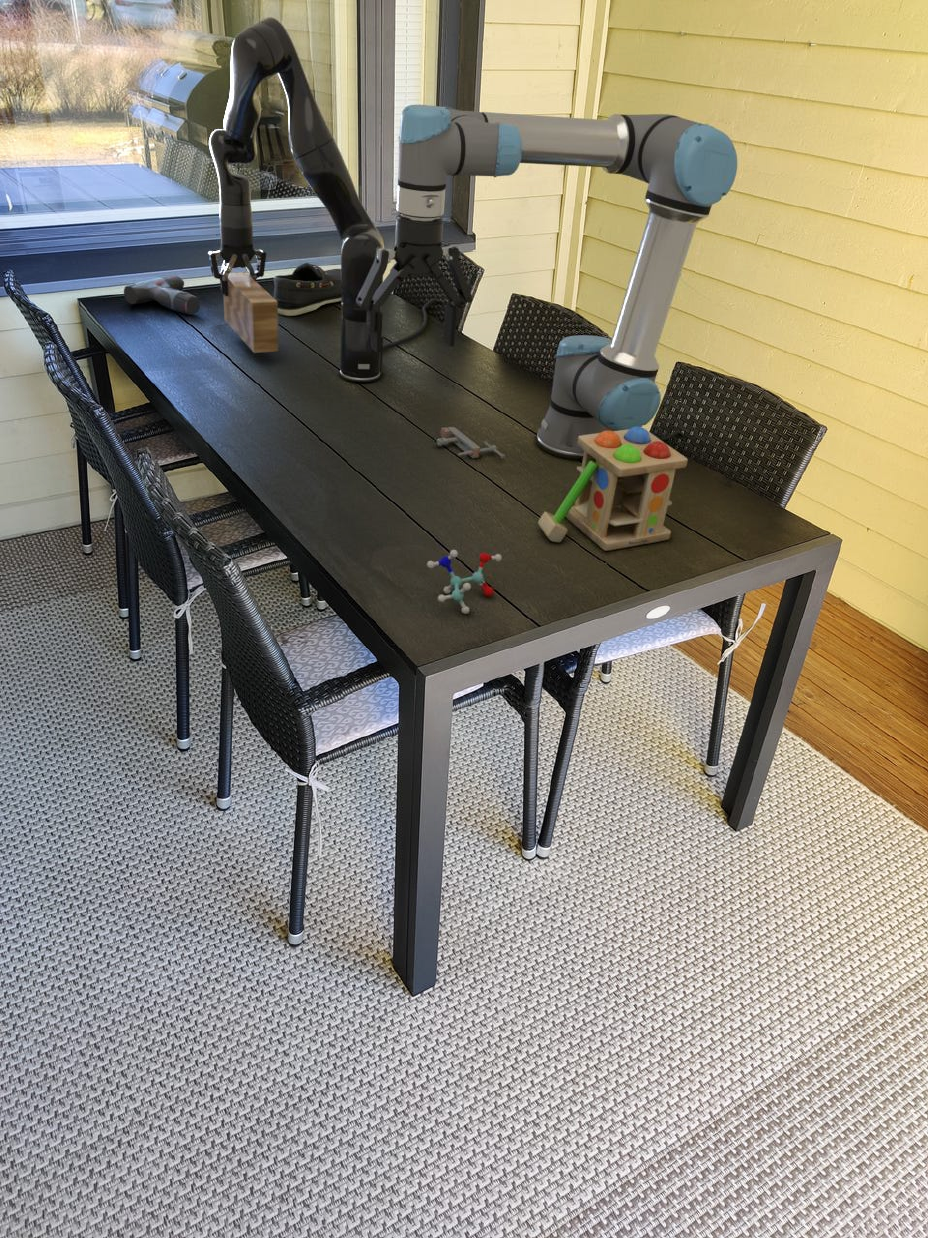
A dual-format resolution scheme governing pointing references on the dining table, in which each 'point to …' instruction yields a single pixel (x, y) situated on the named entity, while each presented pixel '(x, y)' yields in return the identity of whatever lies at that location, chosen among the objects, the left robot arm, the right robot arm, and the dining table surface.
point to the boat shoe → (306, 289)
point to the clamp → (464, 443)
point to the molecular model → (457, 581)
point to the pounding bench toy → (619, 490)
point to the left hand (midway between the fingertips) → (238, 294)
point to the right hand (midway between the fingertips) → (412, 346)
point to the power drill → (163, 294)
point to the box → (251, 313)
